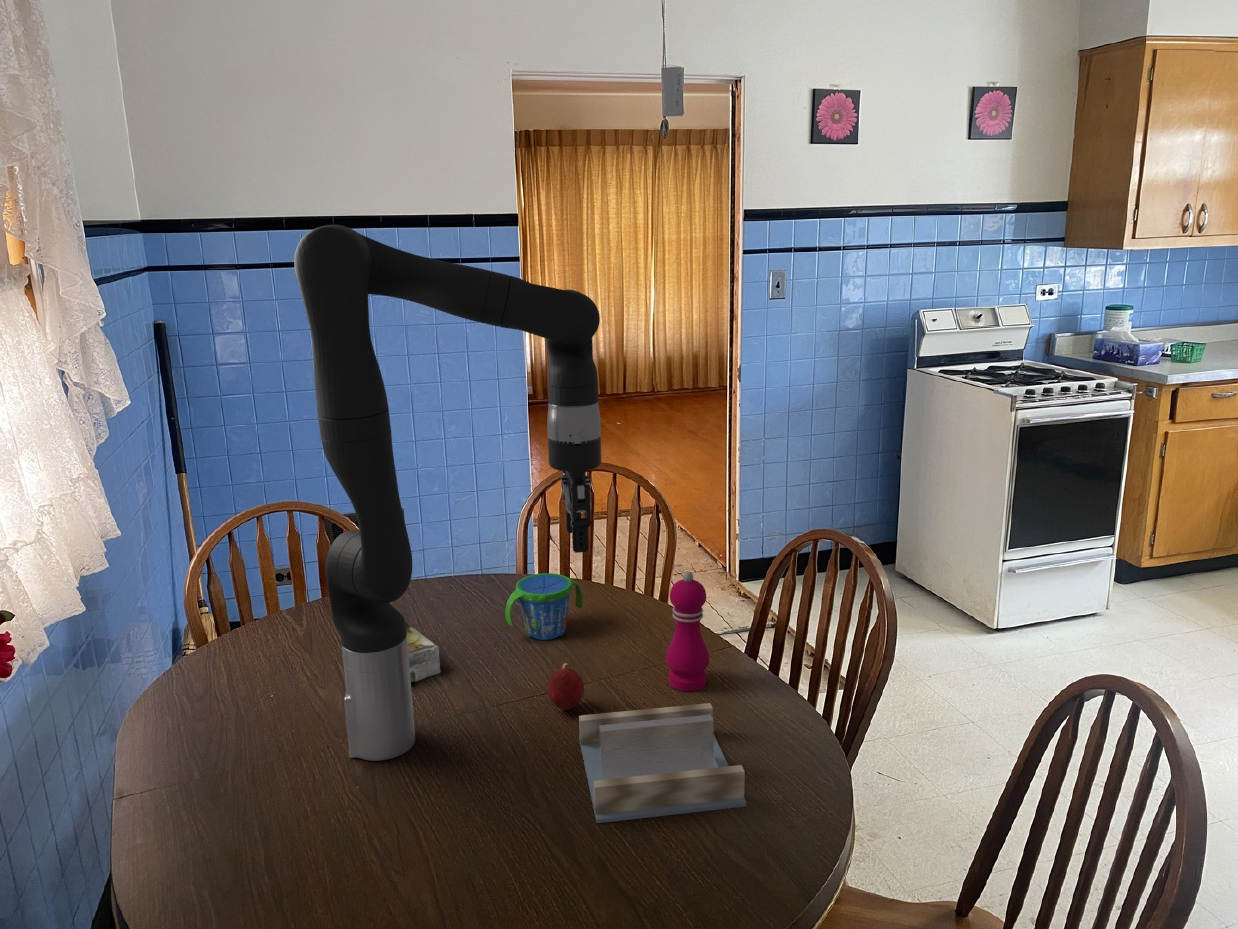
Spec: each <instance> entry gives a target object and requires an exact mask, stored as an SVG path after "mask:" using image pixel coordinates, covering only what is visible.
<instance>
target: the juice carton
mask: <svg viewBox="0 0 1238 929" xmlns="http://www.w3.org/2000/svg"><path fill="white" fill-rule="evenodd" d="M405 623H406V633H407V644H408V656H409V668H410V680H411V683H413V682H414V683H416V682H419V681H421V680H424V679H426V678H428V677H429V678H430V677H432V676H435V675H438V674H441V672H442V671H441V668H440V667H441V665H440V663H441V661H440V660H441V659H440V656H439V654H440V648H439V646H438V645H436V644H435V643H434V642H433V641H432V640H430V639H429V638H427V637H426V636H425V635H423V634H422V633H421V632H419V630H417V629H415V628H414V627H413V626H411V625H410V624H409V623H407V622H406V621H405Z"/></svg>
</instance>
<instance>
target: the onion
mask: <svg viewBox="0 0 1238 929" xmlns="http://www.w3.org/2000/svg"><path fill="white" fill-rule="evenodd" d="M570 666H571V665H570V663H568V662H564V663H563V664H562V666H561V667H560V669H558V670H557V671H555V672H554V673H553V674H552V676H551V677H550V678H549V680H548V684H547V695H548V698H549V700H550V701H551V703H552V704H553V705H555V707H556V708H559V709H561V710H564V711H570V710H571V709H572V708H574V707H575V706H576V705H577V704H579V703H580V701H581V700H582V698H583V696H584V695H585V694H584V693H585V685H584V681H583V679H582V676H581V675H580V674H579V673H578V672H577V671H575V670H574V669H571V668H570Z"/></svg>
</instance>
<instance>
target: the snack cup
mask: <svg viewBox="0 0 1238 929" xmlns="http://www.w3.org/2000/svg"><path fill="white" fill-rule="evenodd" d="M573 585H574V588H575V589H574V590H575V607H577V608H578V609H582V608H583V607H584V594H583V590H582V588H581V586H580V584H578V583H577V582H576V581H574V580H572V578H569V577H567V576H565V575H563V574H559V573H554V572H552V573H548V572H546V573H543V572H542V573H535V574H531V575H527V576H525V577H522V578H520V579H519V580H518V581H517V583H516V585H515V590H514V591H513V592H512V593H511V594H510V595H509V598H508V599H507V601H506V606H505V611H504V612H505V613H504V614H505V615H504V616H505V619H506V623H507V624H508V626H510V627H514V622H513V617H512V608H513V605H514V604H515V603H516V601H517V600H518V601H519V604H520V609H521V614H522V618H523V622H524V623H523V624H524V626H525V627H524V628H525V631H526V633H527V635H528V637H530V638H533V639H536V640H540V641H542V640H543V641H549V640H553V639H556V638H558V637H562V636H563V635H564V634H565V632H566V630H567V624H568V615H569V614H568V613H569V605H570V597H571V596H570V594H571V592H572V590H573Z"/></svg>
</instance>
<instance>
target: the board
mask: <svg viewBox="0 0 1238 929" xmlns="http://www.w3.org/2000/svg"><path fill="white" fill-rule="evenodd" d="M578 740H579V741H580V735H579V736H578ZM579 745H580V749H581V750H580V751H581V756H582V755H583V756H582V759H583V760H584V761H583V760H582V761H583V764H584V765H583V766H584V769H585V773H586V779H588V780H587V785H588V788H589V793H590V799H591V802H592V808H593V812H594V816H595V821H596V822H595V823H596V824H603V823H610V822H620V821H629V820H638V819H647V818H653V817H655V818H656V817H665V816H672V815H681V814H691V813H700V812H709V811H715V810H716V811H717V810H727V809H732V808H733V809H734V808H743V807H747V801H746V799H745V797H744V798H738V799H729V800H720V801H711V802H702V803H694V804H685V805H676V806H667V807H658V808H649V809H640V810H631V811H623V812H614V813H605V814H595V810H594V785H593V781H597V780H603V778H602V774H601V770H600V743H597V744H587V745H581V743H580V742H579ZM713 756H714V758H715V761H716V763H717V765H718V767H727V766H730V764H729V763H728V762H727V759H726V757H725V755H724V753H723V751H722V749H721V747H720V745H719V743H718V741H717V738H716V736H715V735H714V738H713Z"/></svg>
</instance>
